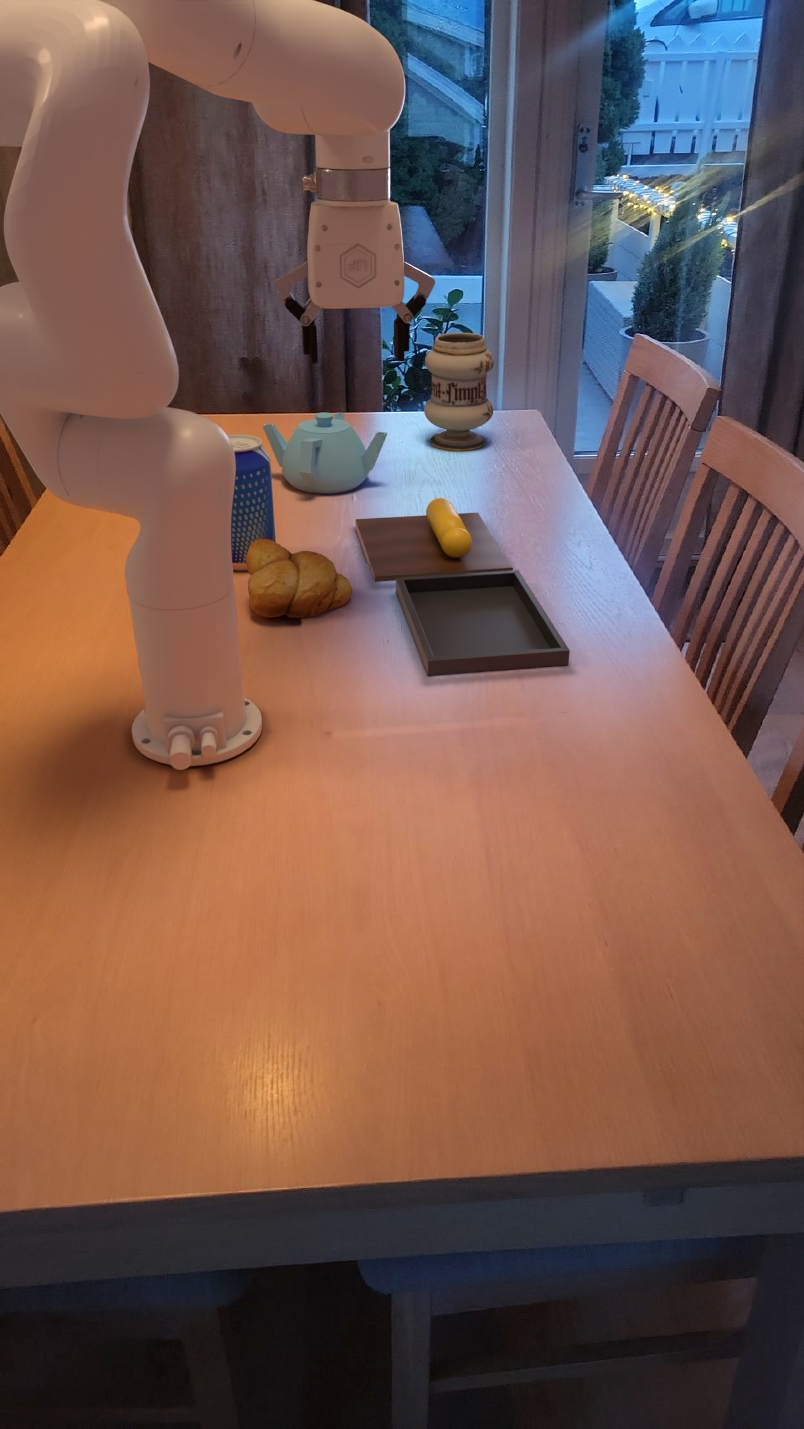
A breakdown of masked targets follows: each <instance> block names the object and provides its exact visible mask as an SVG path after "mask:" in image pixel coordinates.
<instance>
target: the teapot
mask: <svg viewBox="0 0 804 1429" xmlns="http://www.w3.org/2000/svg"><path fill="white" fill-rule="evenodd" d="M314 417H315V418H313V419H308V420H304V421H302V422H300V423H299V424H298V425H297V426H296V428H295V430H294V431H293V433H292V434H291V436H290V438H289V440H288V442H287V440H286V439H285V438H284V436H283V435H282V434H281V432H280V431H279V430H278V428H277V427H276V426H275V423H265V424H263V425H262V429H263V432H264V433H265V436H266V438H267V440H268V442H269V443H268V444H269V446H270V448H271V450H272V453H273V454H274V457H275V459H276V462H277V464H278V466H279V467H281V473H282V475H283V477H284V478H285V480H286V481H287V482H288V484H290V485H291V486H292V487H293V488H294V489H296V490H298V491H301V492H306V493H309V494H319V495H320V494H323V495H325V494H326V495H329V494H340V493H345V492H349V491H352V490H355V489H356V488H358V487H359V486H361V485H362V483H363V482H364V481H365V480H366V478H367V477H368V476H369V474H370V472H371V471H372V470H374V468H375V466H376V463H377V460H378V458H379V455H380V454H381V451H382V448H383V446H384V444H385V441H386V439H387V436H388V432H386V431H385V432H384V431H376V432H375V433H374V437H373V438H372V440H371V441H370V443H369V445H368V446H367V448H366V446H365V445H364V443H363V441H362V439H361V437H360V436H359V434H358V433H357V432H356V430H355V428H354V427H353V426H352V424H350V422H348V421H346V418H345V413H344V412H336V413H335V414H333V413H330V412H325V411H324V412H318V413H316V414H314Z"/></svg>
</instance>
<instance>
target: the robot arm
mask: <svg viewBox="0 0 804 1429" xmlns="http://www.w3.org/2000/svg"><path fill="white" fill-rule="evenodd" d="M401 62H402V61H401V59H400V58H399V55H398V53H397V52H396V50H395V48H394V46H393V45H392V44H391V43H390V42H389V40H388V39H387V38H386V37H385V36H384V35H383V34H382V33H381V32H379V31H378V30H377V29H376V28H375V27H373V26H371V25H370V24H369V23H367V21H365V20H363V19H362V18H360V17H359V16H356V15H354V14H352V13H351V12H347V11H345V10H343V9H341V8H338V7H335V6H332V5H329V4H326V3H323V2H320V1H317V0H0V147H14V148H16V147H17V148H21V150H20V154H19V156H18V161H17V164H16V167H15V170H14V174H13V177H12V180H11V183H10V188H9V191H8V195H7V198H6V204H5V209H4V215H3V235H4V236H3V237H4V243H5V249H6V252H7V255H8V258H9V260H10V263H11V266H12V268H13V270H14V272H15V275H16V277H17V279H18V281H14V282H10V283H7V284H4V285H2V286H0V416H1V417H2V419H3V421H4V423H5V424H6V426H7V428H8V429H9V431H10V433H11V434H12V436H13V438H14V440H15V441H16V443H17V445H18V447H19V448H20V450H21V452H22V453H23V456H24V457H25V458H26V460H27V461H28V463H29V465H30V466H31V468H32V470H33V472H34V473H35V475H36V476H37V478H38V480H40V482H41V483H42V485H43V486H44V487H45V488H46V489H47V490H48V491H49V492H50V493H51V494H52V495H53V496H54V497H56V498H57V499H59V500H60V501H62V502H64V503H67V504H70V505H73V506H76V507H80V508H84V509H90V510H93V511H94V510H95V511H99V512H105V513H111V514H115V515H121V516H123V517H126V518H131V519H135V520H137V521H138V522H139V525H140V530H139V532H138V536H137V538H136V539H135V541H134V543H133V544H132V546H131V547H130V550H129V552H128V555H127V557H126V561H125V567H124V576H125V577H124V578H125V585H126V592H127V597H128V603H129V609H130V614H131V616H130V617H131V623H132V629H133V636H134V643H135V649H136V657H137V663H138V669H139V676H140V683H141V684H140V685H141V691H142V696H143V703H144V704H143V705H144V708H143V709H142V710H141V711H140V712H139V713H138V714H137V716H136V717H135V718H134V720H133V722H132V725H131V735H132V736H131V737H132V741H133V745H134V746H135V748H136V749H137V750H138V751H139V753H141V754H142V756H145V757H146V758H148V759H149V760H150V759H151V760H152V761H155V762H157V763H161V764H164V765H165V764H166V765H169V766H171V767H172V768H173V769H175V770H179V771H184V770H186V769H188V768H189V767H198V766H207V765H212V764H217V763H220V762H224V761H227V760H229V759H233V758H234V757H236V756H239V755H240V754H242V753H244V752H245V751H246V750H248V749H249V748H251V747H252V746H253V745H254V744H255V743H256V742H257V740H258V739H259V737H260V736H261V734H262V730H263V716H262V713H261V711H260V709H259V708H258V706H257V705H256V704H255V703H254V702H253V701H251V700H250V699H248V698H246V697H245V692H244V691H245V690H244V679H243V669H242V657H241V647H240V646H241V645H240V636H239V622H238V612H237V604H236V603H237V600H236V589H235V581H234V570H233V567H232V552H231V514H232V503H233V494H234V485H235V474H236V461H235V453H234V449H233V446H232V443H231V441H230V439H229V438H228V436H227V435H228V434H227V433H226V432H225V431H224V429H223V428H222V427H220V426H219V425H218V424H217V423H216V422H214V421H212V420H211V419H209V418H208V417H206V416H204V415H201V414H198V413H197V412H193V411H190V410H185V409H180V408H175V407H169V405H170V404H171V403H172V401H173V399H174V398H175V396H176V394H177V392H178V388H179V380H180V371H179V363H178V358H177V353H176V351H175V348H174V345H173V342H172V339H171V336H170V334H169V331H168V329H167V325H166V323H165V320H164V317H163V315H162V312H161V310H160V307H159V305H158V302H157V300H156V298H155V295H154V292H153V290H152V287H151V284H150V282H149V279H148V277H147V274H146V272H145V268H144V266H143V264H142V262H141V258H140V256H139V253H138V250H137V248H136V244H135V242H134V239H133V235H132V233H131V232H132V231H131V228H130V225H129V219H128V190H129V183H130V176H131V171H132V167H133V163H134V158H135V153H136V149H137V147H138V146H137V145H138V142H139V139H140V136H141V132H142V129H143V126H144V122H145V119H146V117H147V116H146V115H147V111H148V105H149V102H150V91H151V90H150V89H151V77H150V76H151V75H150V66H149V64H151V65H154V66H156V67H157V68H160V69H162V70H164V71H166V72H168V73H170V74H173V75H174V76H176V77H178V78H181V79H182V80H185V81H187V82H189V83H191V84H192V85H195V86H196V87H199V88H200V89H202V90H204V91H206V92H208V93H211V94H213V95H214V96H218V97H223V98H226V99H232V100H237V101H242V102H247V103H251V104H252V106H253V108H254V110H255V113H256V114H257V115H258V117H259V118H260V120H261V121H262V122H263V123H264V124H265V125H267V126H268V127H269V128H271V129H273V130H275V131H277V132H280V133H284V134H291V135H313V136H314V137H315V138H314V139H315V140H314V144H315V171H313V173H310V174H309V175H302V179H301V180H302V190H303V191H310V192H312V193H314V194H315V195H316V199H317V200H316V201H313V202H311V204H310V209H309V216H308V217H309V218H308V231H307V245H306V261H304V262H302V263H301V264H299V265H298V266H296V267H294V268H292V269H291V270H290V271H288V272H286V273H285V274H282V275H280V277H278V278H276V279H275V280H274V281H273V285H274V286H273V287H274V288H275V290H276V292H277V295H278V296H279V298H280V299H281V301H282V303H283V305H284V307H285V309H286V310H287V311H288V312H289V313H290V314H291V315H292V316H293V317H294V318H296V320H297V321H298V322H299V323H300V324H301V336H302V354H303V356H304V355H305V356H307V355H308V359H309V361H310V364H311V365H317V364H318V362H319V356H318V330H317V329H318V328H317V325H316V323H315V319H316V317H317V316H318V314H319V313H320V312H321V311H322V309H328V310H329V309H330V310H332V309H338V310H339V309H340V310H341V309H370V308H371V309H373V308H375V309H376V308H392V309H393V310H394V311H395V313H396V318H395V320H393V356H394V357H395V358H396V360H397V361H398V362H404V361H405V352H410V342H411V340H410V339H411V338H410V336H411V335H410V330H411V329H410V328H411V327H410V324H411V323H412V322H413V320H414V318H415V317H416V316H417V315H418V314H419V312H420V311H421V310H422V309H423V308H425V306H426V304H427V300H428V298H429V297H430V295H431V293H432V292H433V289H434V287H435V285H436V280H435V278H434V277H433V276H431V275H430V274H428V273H427V272H425V271H422V270H421V269H420V268H417V267H415V266H413V265H412V264H410V263H408V262H406V261H405V260H404V258H405V257H404V244H403V242H404V240H403V232H402V230H403V229H402V222H401V221H402V220H401V216H400V215H401V214H400V208H399V204H398V203H397V202H395V201H391V168H390V167H391V129H392V128H393V127H394V126H395V124H396V123H397V122H398V121H399V119H400V116H401V115H402V111H403V108H404V104H405V99H406V78H405V73H404V68H403V66H402V63H401ZM405 277H406V278H407V279H409V280H410V281H413V282H415V283H417V285H418V286H417V288H416V292H415V294H414V295H413V296H412V297H411V298H410V299H409V300H407V303H406V304H405V302H404V301H403V300H404V297H405ZM305 279H306V281H307V282H306V284H307V291H308V292H307V293H308V295H309V298H308V300H307V301H306V302H305V303H304V305H301V304H300V302H299V301H297V299H296V298H294V296H293V294H292V292H291V289H292V287H294V286H296V285H297V284H299V283H300V282H302V281H304V280H305Z"/></svg>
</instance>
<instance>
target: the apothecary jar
mask: <svg viewBox="0 0 804 1429" xmlns="http://www.w3.org/2000/svg"><path fill="white" fill-rule="evenodd" d="M424 365H425V367H426V369H427V370H428V371H429V372H430V373H431V397H430V399H429V400H427V402H426V403H425V404H424V408H423V411H424V416H425V418H426V419H427V420H428V421H429V423H430V424H432V425H434V426H435V427H437V428H440V429H442V430H444V431H441V432H438V433H435V434H433V435H432V436H431V437H430V439H429V441H430V442H431V443H430V444H431V445H432V446H433V447H435V448H437V449H439V450H445V451H453V452H465V451H466V452H468V451H472V450H477V449H480V448H482V447H484V446H485V445H486V439H485V437H484V436H482V435H480V434H478V433H476V432H474V431H473V430H475V429H477V428H479V427H482V426H483V425H485V424H487V423H488V422H489V421H491V419H492V417H493V415H494V406H493V403H492V402H491V401H490V400H489V398H488V397H487V396H488V394H487V393H488V392H487V381H488V380H487V377H488V373H489V372H490V371H491V370H492V369H493V368H494V365H495V358H494V355H493V354H492V352H491V351H490V350H489V349H487V345H486V338H485V336H483V335H482V334H478V333H472V332H449V333H442V334H439V335H437V336H435V338H434V344H433V346H432V348H431V350H430V351H428V353H427V354H426V355H425V359H424Z"/></svg>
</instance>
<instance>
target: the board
mask: <svg viewBox="0 0 804 1429" xmlns="http://www.w3.org/2000/svg"><path fill="white" fill-rule="evenodd" d="M458 515H459V517H460V518H461V520H462V522H463V524H464V525H465V527H466V529H467V530H468V532H469V534H470V536H471V539H472V546H471V549H470V551H469V552H468V553H467V554H466V555H465V556H463V557H460V558H453V557H450V556H448V555H447V554H446V553H445V552H444V551H443V549H442V547H441V545H440V543H439V541H438V539H437V537H436V535H435V533H434V531H433V529H432V527H431V525H430V523H429V521H428V519H427V516H426V514H425V515H408V516H407V515H406V516H390V517H387V516H386V517H370V518H368V517H367V518H355V520H354V522H355V531H356V534H357V537H358V541H359V543H360V547H361V549H362V552H363V555H364V558H365V561H366V563H367V564H368V565H369V568H370V571H371V574H372V577H373V580H374V582H392V581H396V578H400V577H416V576H432V575H448V574H464V573H480V572H496V571H512V570H514V567H513V565H512V564H511V562H510V560H509V559H508V557H507V556H506V554H505V553H504V551H503V549H502V547H501V546H500V545H499V543H498V541H497V540H496V539H495V537H494V535H493V534H492V532H491V531H490V529H489V527H488V525H487V523H485V521H484V519H483V518H482V516H481V515H480V512H461V513H458Z"/></svg>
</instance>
